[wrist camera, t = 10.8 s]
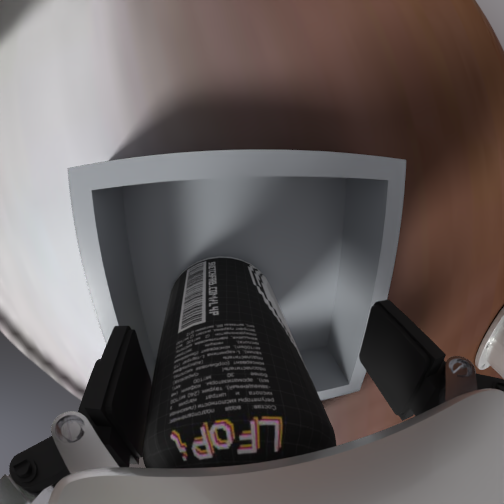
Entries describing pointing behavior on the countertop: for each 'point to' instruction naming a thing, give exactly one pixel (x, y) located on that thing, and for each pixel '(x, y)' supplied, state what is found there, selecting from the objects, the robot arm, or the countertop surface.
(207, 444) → the beverage can
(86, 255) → the tray
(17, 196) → the countertop surface
